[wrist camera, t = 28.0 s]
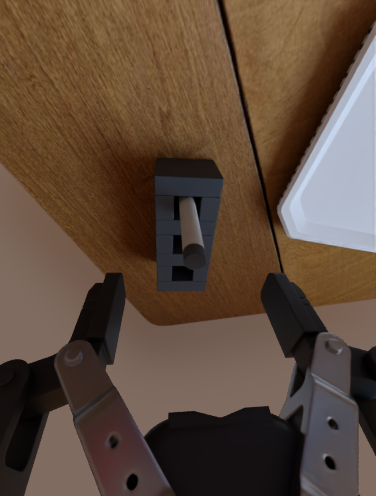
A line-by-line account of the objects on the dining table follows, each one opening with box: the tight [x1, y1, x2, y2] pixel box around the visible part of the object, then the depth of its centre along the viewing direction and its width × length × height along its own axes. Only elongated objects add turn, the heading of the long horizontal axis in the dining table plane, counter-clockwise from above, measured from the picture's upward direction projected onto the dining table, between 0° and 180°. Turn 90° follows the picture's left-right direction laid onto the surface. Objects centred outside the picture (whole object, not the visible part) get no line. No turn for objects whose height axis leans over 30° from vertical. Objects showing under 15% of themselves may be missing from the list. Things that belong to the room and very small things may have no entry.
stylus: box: [179, 196, 207, 270], centre depth 18 cm, size 1×1×12 cm
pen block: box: [154, 158, 224, 291], centre depth 23 cm, size 13×6×5 cm, turn 176°
